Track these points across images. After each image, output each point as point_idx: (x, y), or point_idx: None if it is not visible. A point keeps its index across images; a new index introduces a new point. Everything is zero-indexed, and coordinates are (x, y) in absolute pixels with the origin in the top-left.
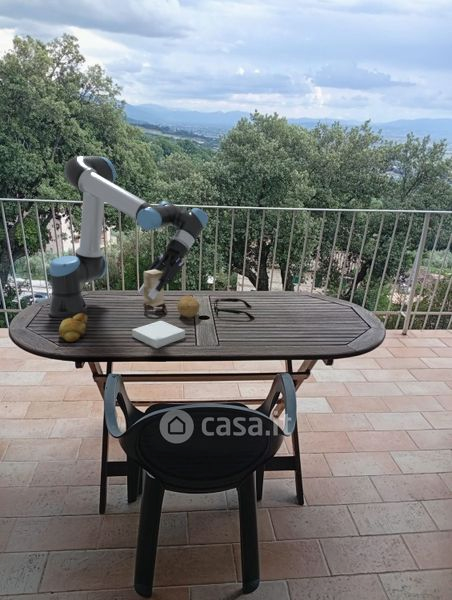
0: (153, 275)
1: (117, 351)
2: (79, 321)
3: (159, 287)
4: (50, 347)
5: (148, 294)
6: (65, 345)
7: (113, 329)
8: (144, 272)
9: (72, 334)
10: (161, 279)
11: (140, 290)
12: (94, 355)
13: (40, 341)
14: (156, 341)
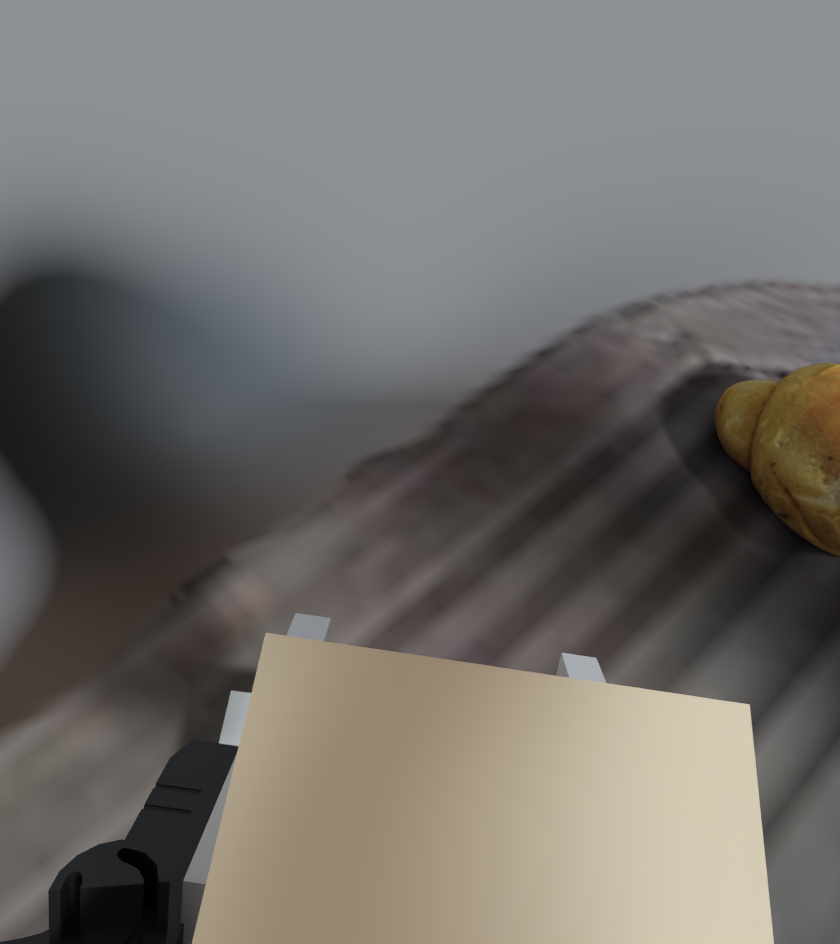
0: (260, 698)
1: (423, 501)
2: None
3: (155, 799)
4: (729, 331)
5: (321, 624)
6: (705, 384)
7: (767, 744)
8: (684, 698)
9: (739, 393)
10: (60, 888)
11: (566, 674)
12: (481, 394)
13: (835, 344)
14: (232, 696)
